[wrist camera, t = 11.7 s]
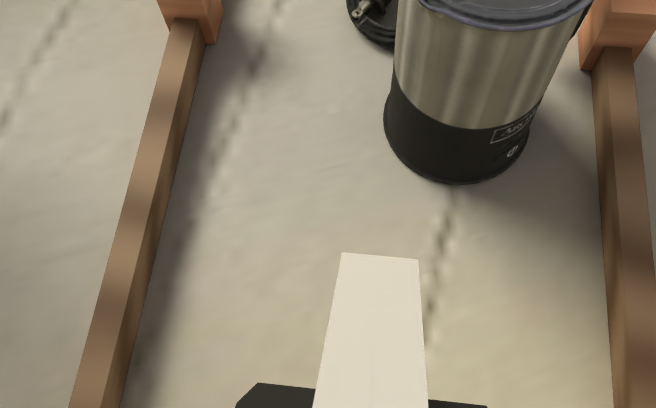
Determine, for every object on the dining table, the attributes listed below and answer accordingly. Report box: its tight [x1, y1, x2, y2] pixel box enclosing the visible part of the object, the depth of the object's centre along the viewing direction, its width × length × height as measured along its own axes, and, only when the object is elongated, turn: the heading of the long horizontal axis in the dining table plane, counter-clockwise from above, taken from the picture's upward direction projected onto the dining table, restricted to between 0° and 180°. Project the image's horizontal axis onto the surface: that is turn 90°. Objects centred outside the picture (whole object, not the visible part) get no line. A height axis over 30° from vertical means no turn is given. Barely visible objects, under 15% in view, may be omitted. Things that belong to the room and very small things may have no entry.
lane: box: [68, 0, 656, 408], centre depth 36 cm, size 36×31×6 cm
